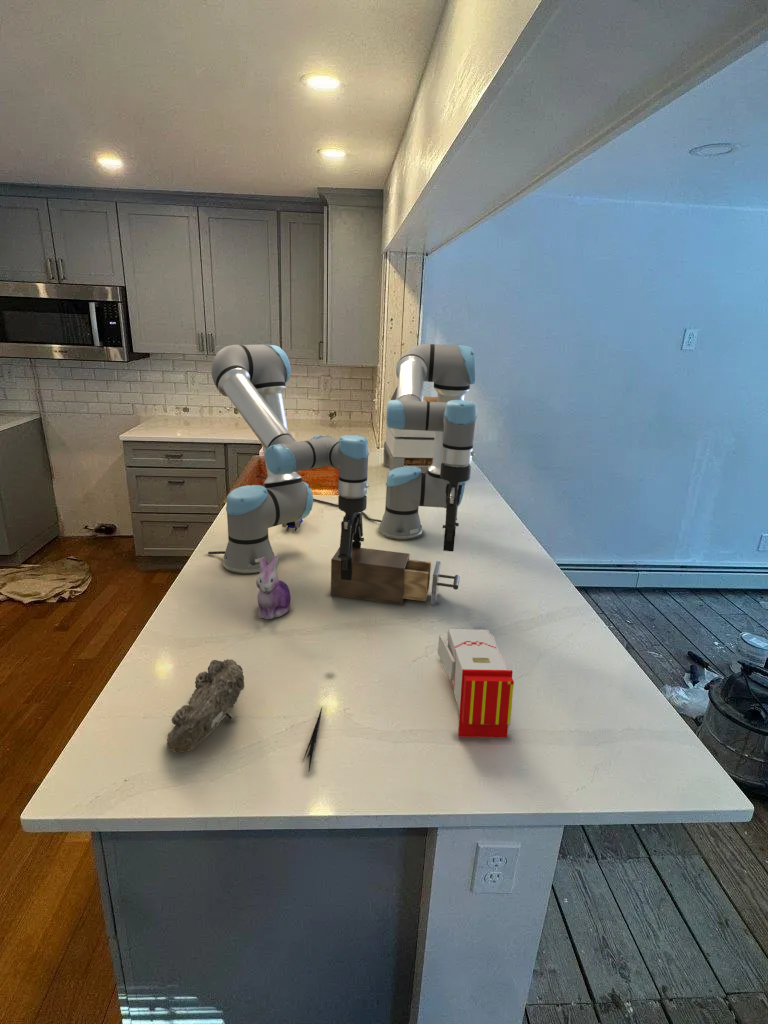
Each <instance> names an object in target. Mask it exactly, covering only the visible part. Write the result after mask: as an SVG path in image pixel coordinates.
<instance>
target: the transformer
mask: <svg viewBox="0 0 768 1024" xmlns="http://www.w3.org/2000/svg"><path fill="white" fill-rule="evenodd" d="M397 387H398V385H397V386H396V388H395V390H394V392H393V394H392V395H391V398H390V400H396V395H397ZM437 398H438V396H423V401H425V402H437ZM385 414H386V415H385V423H386V424H387V411H386V413H385ZM434 438H435V431H425V430H399V429H393V428H389V427H388V426H387V425H386V428H385V438H384V442H383V466H384V467H388V468H389V472H390V471H391V470H393V469H395V468H399V467H405V466H406V467H407V466H412V467H417V466H418V467H429V466H430V465H431V464H432V463H433V451H434Z"/></svg>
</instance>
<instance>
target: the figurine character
mask: <svg viewBox="0 0 768 1024" xmlns="http://www.w3.org/2000/svg"><path fill="white" fill-rule="evenodd" d="M303 522H304V520H303V519H300V520H298V521H296V522H289V523H285V524H281V528H285V531H286V532H289V530H290V529H294V532H297V530H298V528H300V527H301V524H302V523H303Z"/></svg>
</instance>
